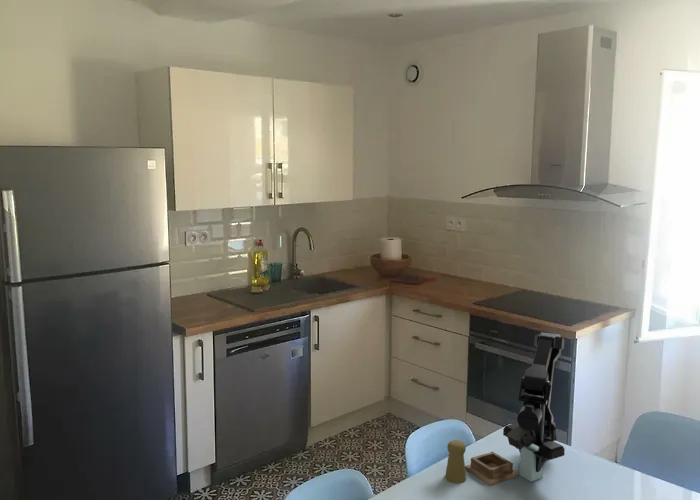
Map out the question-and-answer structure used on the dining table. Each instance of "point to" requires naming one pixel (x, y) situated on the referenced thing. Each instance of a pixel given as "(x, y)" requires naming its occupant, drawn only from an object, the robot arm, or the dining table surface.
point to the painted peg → (529, 463)
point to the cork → (456, 462)
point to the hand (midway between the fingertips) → (531, 468)
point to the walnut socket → (491, 468)
